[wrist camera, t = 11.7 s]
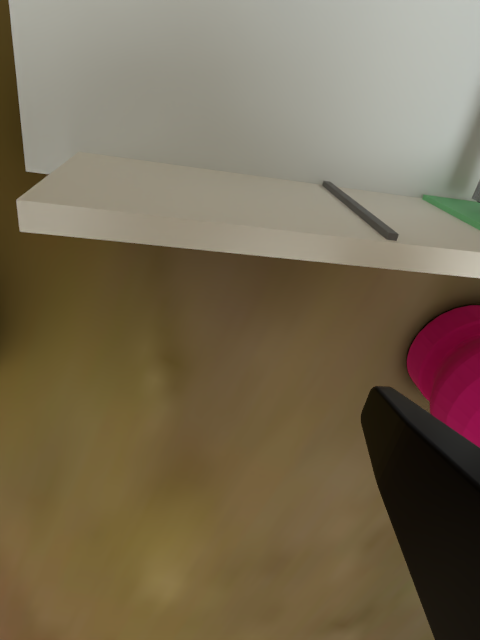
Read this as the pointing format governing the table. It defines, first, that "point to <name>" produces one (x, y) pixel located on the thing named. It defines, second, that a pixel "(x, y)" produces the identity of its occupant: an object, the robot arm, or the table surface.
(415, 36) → the gauge base
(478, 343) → the pepper mill
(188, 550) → the table surface
